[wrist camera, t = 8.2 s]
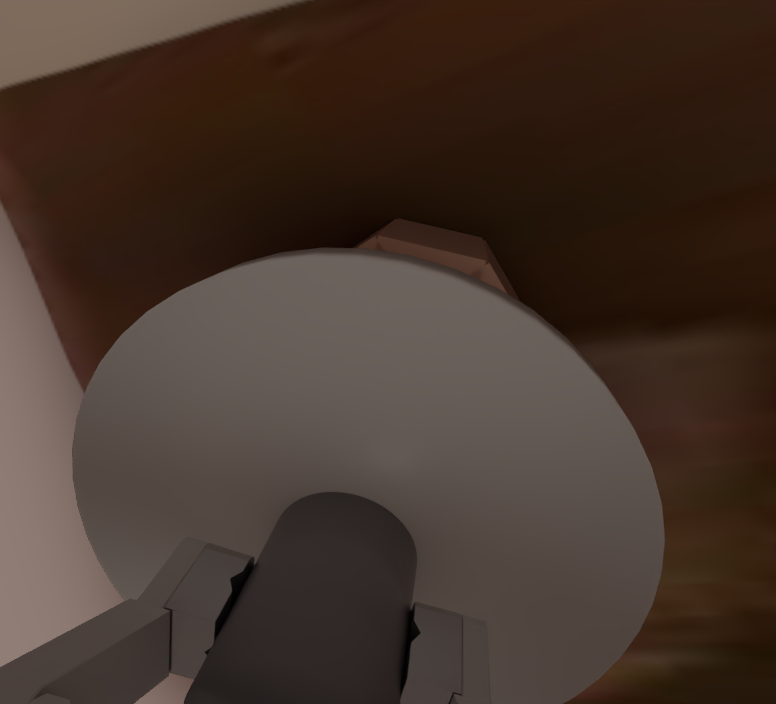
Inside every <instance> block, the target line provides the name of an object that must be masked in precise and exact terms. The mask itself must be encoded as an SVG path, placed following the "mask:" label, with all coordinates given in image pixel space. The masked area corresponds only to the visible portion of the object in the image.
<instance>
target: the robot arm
mask: <svg viewBox="0 0 776 704" xmlns="http://www.w3.org/2000/svg"><path fill="white" fill-rule="evenodd" d="M254 560H255V557H253V556H249V555H246V554H243V553H240V552H237V551H233V550H230V549H227V548H224V547H221V546H218V545H214V544H211V543H208V542H204V541H201V540H197V539H194V538H191V537H187V538H186V539H184V540H183V541H182V542H180V544H179V545H178V546H177V548H176V549H175V550H174V552H173V553H172V554H171V556H170V557H169V558H168V560H167V561H166V562H165V564H164V565H163V566H162V568H161V569H160V570H159V572H158V573H157V574H156V576H155V577H154V578H153V580H152V581H151V582H150V584H149V585H148V586H147V588H146V589H145V590H144V592H143V593H142V594H141V596H140V597H139V598H138V600H134V599H128V600H126V601H124V602H123V603H121V604H119V605H117V606H115V607H113V608H111V609H109V610H107V611H106V612H104V613H102V614H100V615H98V616H96V617H94V618H92V619H90V620H89V621H87V622H85V623H83V624H81V625H79V626H77V627H75V628H74V629H72V630H70V631H68V632H66V633H64V634H62V635H60V636H58V637H57V638H55V639H53V640H51V641H49V642H47V643H45V644H43V645H42V646H40V647H38V648H36V649H34V650H32V651H30V652H28V653H26V654H24V655H23V656H21V657H19V658H17V659H15V660H13V661H11V662H9V663H7V664H6V665H4V666H2V667H0V704H134V703H135V702H136V701H137V700H139V699H140V698H141V697H143V696H144V695H145V694H146V693H148V692H149V691H150V690H151V689H153V688H154V687H155V686H156V685H157V684H159V683H160V682H161V681H163V680H164V679H165V678H166V677H168V675H169V673H173V674H176V675H180V676H184V677H187V678H192V679H195V678H196V676H197V674H198V672H199V670H200V668H201V666H202V664H203V662H204V660H205V658H206V657H207V655H208V653H209V651H210V649H211V647H212V645H213V643H214V641H215V639H216V637H217V636H218V634H219V632H220V630H221V628H222V626H223V624H224V622H225V620H226V618H227V616H228V615H229V613H230V611H231V609H232V607H233V605H234V603H235V601H236V599H237V597H238V595H239V594H240V592H241V590H242V588H243V586H244V584H245V582H246V580H247V578H248V576H249V574H250V573H251V571H252V569H253V567H254ZM400 704H491V695H490V674H489V653H488V632H487V625H486V622H485V621H483V620H479V619H476V618H472V617H469V616H465V615H460V613H456V612H453V611H449V610H445V609H441V608H438V607H434V606H430V605H426V604H423V603H419V602H414V604H413V606H412V609H411V614H410V622H409V630H408V638H407V649H406V657H405V662H404V670H403V678H402V687H401V695H400Z"/></svg>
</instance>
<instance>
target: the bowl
mask: <svg viewBox="0 0 776 704" xmlns="http://www.w3.org/2000/svg"><path fill="white" fill-rule="evenodd" d="M353 248H366V249H373V250H379V251H385V252H392V253H398V254H405V255H411V256H414V257H417V258H421V259H424V260H428V261H431V262H434V263H438V264H441V265H444V266H448V267H451V268H454V269H457V270H459V271H461V272H463V273H466V274H468V275H470V276H472V277H475V278H477V279H479V280H481V281H484V282H486V283H488V284H490V285H493V286H495V287H497V288H498V289H500V290H501V291H503V292H505V293H506V294H508V295H510V296H511V297H513V298H514V299H516V300H518V301H519V302H521V301H520V300H519V298H518V296H517V294H516V293H515V291H514V289H513V287H512V286H511V284H510V282H509V280H508V279H507V277H506V275H505V274H504V272H503V270H502V268H501V267H500V265H499V263H498V261H497V260H496V258H495V256H494V254H493V253H492V251H491V249H490V248H489V246H488V244H487V242H486V241H485V239H484V240H483V238H482V237H478V236H473V235H469V234H465V233H460V232H456V231H452V230H447V229H443V228H439V227H434V226H430V225H426V224H421V223H417V222H413V221H408V220H404V219H400V218H398V219H397V220H396V219H395V220H393V221H392V222H390V223H389V224H387V225H386V226H384V227H383V228H381V229H380V230H378V231H377V232H375V233H374V234H372V235H371V236H369V237H368V238H366V239H365V240H363V241H362V242H360V243H359V244H357V245H356V246H354V247H353Z"/></svg>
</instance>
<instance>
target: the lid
mask: <svg viewBox="0 0 776 704" xmlns="http://www.w3.org/2000/svg"><path fill="white" fill-rule="evenodd" d="M72 457H73V481H74V487H75V493H76V499H77V505H78V509H79V512H80V515H81V519H82V521H83V525H84V528H85V531H86V534H87V537H88V539H89V541H90V543H91V545H92V548H93V550H94V552H95V554H96V556H97V559H98V561H99V563H100V564H101V566H102V568H103V569H104V571H105V573H106V574H107V576H108V578H109V579H110V581H111V583H112V584H113V586H114V587H115V588H116V590H117V591H118V593H119V594H120V595H121V597H122V598H123V599H124V600H125V601H126V600H128V599H134V600H138V598H139V597H140V596H141V594H142V593H143V592H144V590H145V589H146V588H147V586H148V585H149V584H150V582H151V581H152V580H153V578H154V577H155V576H156V574H157V573H158V572H159V570H160V569H161V568H162V566H163V565H164V564H165V562H166V561H167V560H168V558H169V557H170V556H171V554H172V553H173V552H174V550H175V549H176V548H177V546H178V545H179V544H180V542H182V541H183V540H184V539H186V538H187V537H191V538H194V539H197V540H201V541H204V542H208V543H211V544H214V545H218V546H221V547H224V548H227V549H230V550H233V551H237V552H240V553H243V554H246V555H249V556H253V557H255V560H254V567H253V569H252V571H251V573H250V574H249V576H248V578H247V580H246V582H245V584H244V586H243V588H242V590H241V592H240V594H239V595H238V597H237V599H236V601H235V603H234V605H233V607H232V609H231V611H230V613H229V615H228V616H227V618H226V620H225V622H224V624H223V626H222V628H221V630H220V632H219V634H218V636H217V637H216V639H215V641H214V643H213V645H212V647H211V649H210V651H209V653H208V655H207V657H206V658H205V660H204V662H203V664H202V666H201V668H200V670H199V672H198V674H197V676H196V678H195V679H194V682H193V683H192V685H191V687H190V689H189V691H188V693H187V695H186V698H185V701H184V704H400V695H401V687H402V678H403V670H404V662H405V657H406V649H407V638H408V630H409V622H410V614H411V609H412V606H413V604H414V602H419V603H423V604H426V605H430V606H434V607H438V608H441V609H445V610H449V611H453V612H456V613H460V615H465V616H469V617H472V618H476V619H479V620H483V621H485V622H486V625H487V632H488V653H489V674H490V695H491V704H563V703H565V702H566V701H568V700H570V699H572V698H573V697H575V696H577V695H578V694H579V693H581V692H582V691H583V690H585V689H586V688H587V687H589V686H590V685H591V684H593V683H594V682H595V681H597V680H598V679H599V678H600V677H601V676H602V675H603V674H604V673H605V672H606V671H607V670H608V669H609V668H610V667H611V666H612V665H613V664H614V663H615V662H616V661H617V660H618V659H619V658H620V657H621V656H622V655H623V653H624V652H625V651H626V649H627V648H628V647H629V645H630V644H631V642H632V641H633V640H634V638H635V637H636V635H637V634H638V633H639V631H640V629H641V627H642V625H643V623H644V621H645V619H646V617H647V615H648V613H649V611H650V609H651V607H652V605H653V602H654V598H655V595H656V591H657V588H658V584H659V581H660V577H661V574H662V564H663V554H664V543H665V535H664V523H663V512H662V503H661V499H660V495H659V492H658V488H657V484H656V481H655V477H654V473H653V470H652V466H651V464H650V462H649V460H648V458H647V456H646V453H645V451H644V449H643V447H642V445H641V443H640V440H639V438H638V436H637V434H636V432H635V430H634V428H633V427H632V425H631V423H630V422H629V420H628V418H627V417H626V415H625V414H624V412H623V410H622V409H621V407H620V406H619V404H618V402H617V401H616V399H615V398H614V396H613V395H612V393H611V392H610V390H609V389H608V387H607V386H606V384H605V383H604V381H603V380H602V378H601V377H600V375H599V374H598V372H597V371H596V370H595V368H594V367H593V366H592V365H591V364H590V363H589V361H588V360H587V359H586V358H585V357H584V356H583V355H582V354H581V353H580V352H579V351H578V349H577V348H576V347H575V346H574V345H573V344H572V343H571V342H570V341H569V340H568V339H567V337H565V336H564V335H563V334H562V333H561V332H559V331H558V330H557V329H556V328H554V327H553V326H552V325H551V324H550V323H548V322H547V321H546V320H545V319H543V318H542V317H541V316H540V315H539V314H537V313H536V312H535V311H534V310H532V309H531V308H529V307H527V306H526V305H524V304H523V303H521V302H519V301H518V300H516V299H514V298H513V297H511V296H510V295H508V294H506V293H505V292H503V291H501V290H500V289H498V288H497V287H495V286H493V285H490V284H488V283H486V282H484V281H481V280H479V279H477V278H475V277H472V276H470V275H468V274H466V273H463V272H461V271H459V270H457V269H454V268H451V267H448V266H444V265H441V264H438V263H434V262H431V261H428V260H424V259H421V258H417V257H414V256H411V255H405V254H398V253H392V252H385V251H379V250H373V249H366V248H315V249H306V250H297V251H289V252H281V253H277V254H274V255H270V256H266V257H262V258H258V259H255V260H251V261H247V262H243V263H241V264H239V265H236V266H234V267H232V268H230V269H227V270H225V271H223V272H220V273H218V274H216V275H213V276H211V277H209V278H207V279H204V280H202V281H200V282H198V283H196V284H193V285H191V286H189V287H187V288H185V289H183V290H180V291H178V292H177V293H175V294H174V295H172V296H171V297H169V298H168V299H166V300H164V301H163V302H161V303H160V304H158V305H157V306H155V307H153V308H152V309H150V310H149V311H147V312H146V313H145V314H144V315H143V316H142V317H141V318H139V319H138V320H137V321H136V322H135V323H134V324H133V325H132V326H131V327H130V328H128V329H127V330H126V331H125V332H124V333H123V334H122V335H121V336H120V337H119V338H118V340H117V341H116V342H115V344H114V345H113V346H112V347H111V349H110V350H109V351H108V353H107V354H106V355H105V357H104V358H103V359H102V360H101V362H100V364H99V365H98V367H97V369H96V371H95V373H94V375H93V377H92V379H91V381H90V383H89V385H88V387H87V388H86V391H85V394H84V397H83V400H82V403H81V406H80V410H79V413H78V416H77V420H76V426H75V433H74V440H73V448H72Z"/></svg>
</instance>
